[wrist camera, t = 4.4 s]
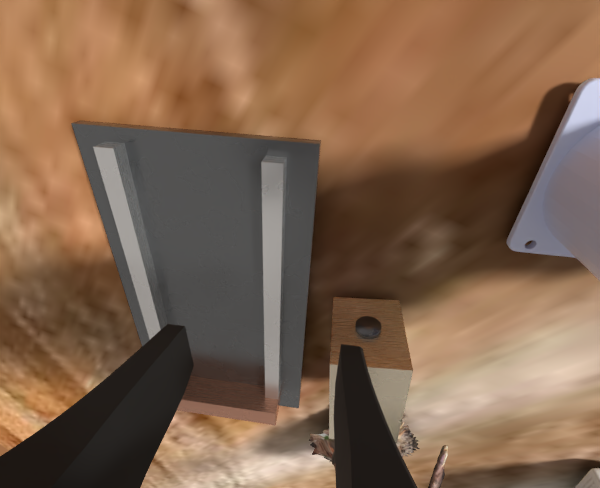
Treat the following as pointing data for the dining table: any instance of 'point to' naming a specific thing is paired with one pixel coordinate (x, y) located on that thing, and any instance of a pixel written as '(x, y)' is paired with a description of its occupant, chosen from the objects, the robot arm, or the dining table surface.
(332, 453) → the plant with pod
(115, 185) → the rail guide
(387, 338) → the block
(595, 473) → the skincare box
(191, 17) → the dining table surface
